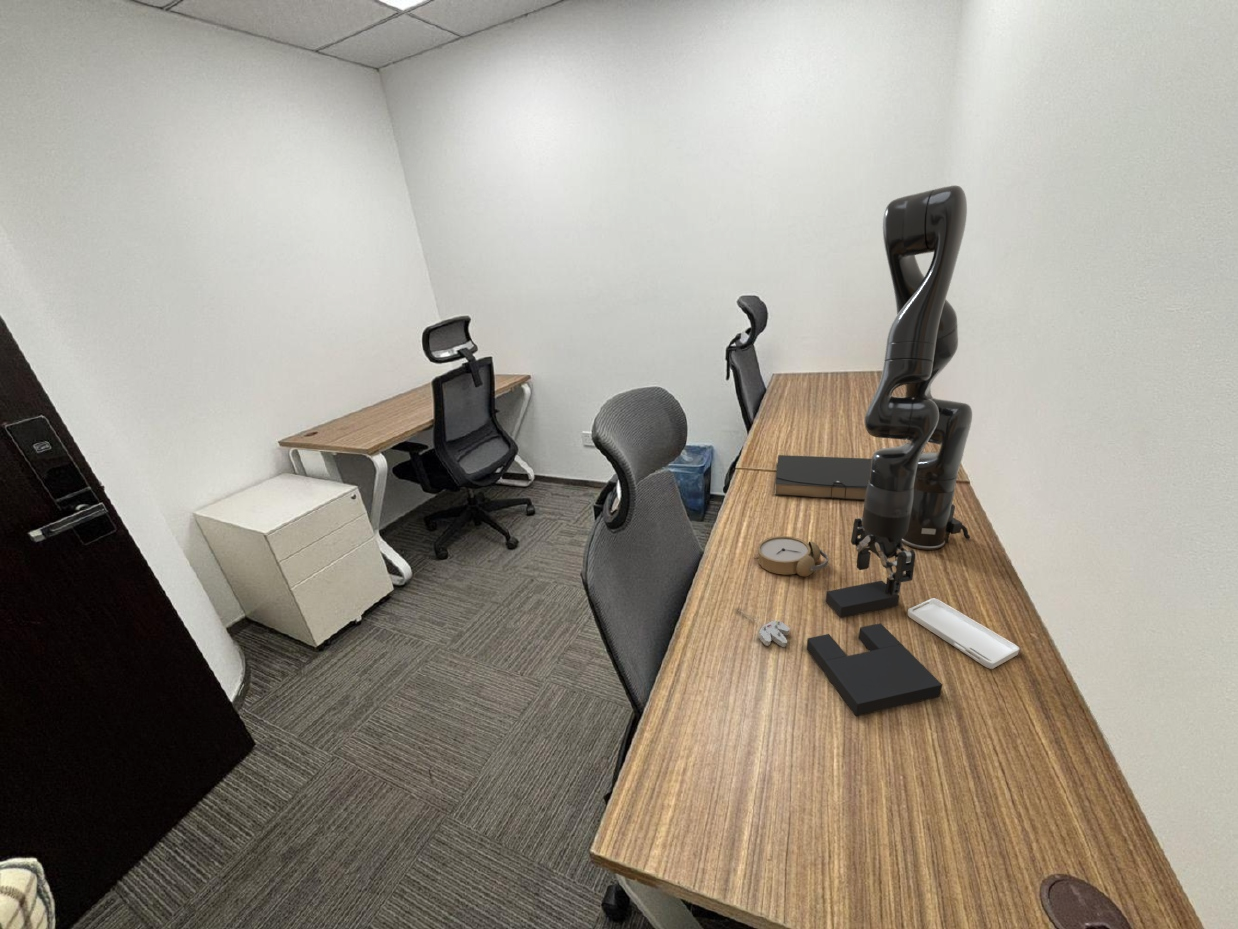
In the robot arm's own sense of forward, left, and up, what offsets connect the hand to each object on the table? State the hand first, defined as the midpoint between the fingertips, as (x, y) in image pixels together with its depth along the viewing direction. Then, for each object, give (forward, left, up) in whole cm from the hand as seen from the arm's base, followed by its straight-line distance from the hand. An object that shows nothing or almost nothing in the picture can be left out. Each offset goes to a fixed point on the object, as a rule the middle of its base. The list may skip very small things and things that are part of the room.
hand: (876, 580), depth 93 cm
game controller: (+24, +1, -5) cm, 24 cm away
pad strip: (+3, 0, -5) cm, 6 cm away
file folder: (-23, -50, -5) cm, 55 cm away
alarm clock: (+9, -16, -5) cm, 19 cm away
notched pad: (+12, +15, -5) cm, 20 cm away
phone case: (-8, +12, -5) cm, 15 cm away
